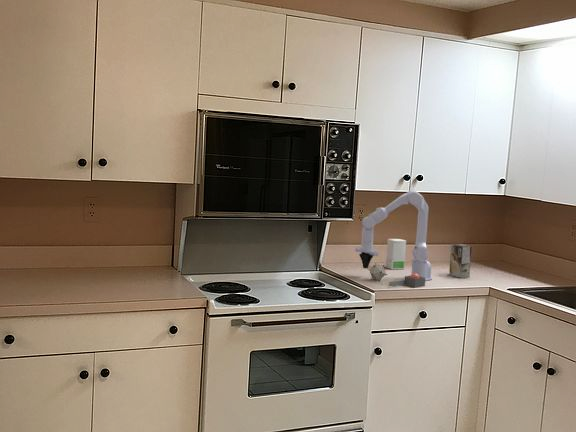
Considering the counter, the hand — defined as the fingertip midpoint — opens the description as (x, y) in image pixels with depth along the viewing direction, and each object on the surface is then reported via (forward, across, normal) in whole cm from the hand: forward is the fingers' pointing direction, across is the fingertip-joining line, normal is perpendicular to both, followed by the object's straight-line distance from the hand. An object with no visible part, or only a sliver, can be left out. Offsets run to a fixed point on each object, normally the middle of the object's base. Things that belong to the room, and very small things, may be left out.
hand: (365, 268), depth 323 cm
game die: (+4, +9, 0) cm, 10 cm away
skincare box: (+4, -8, +30) cm, 31 cm away
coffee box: (+4, +20, +47) cm, 51 cm away
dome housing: (+4, +25, +9) cm, 27 cm away
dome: (+3, +25, +9) cm, 27 cm away
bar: (+4, +22, 0) cm, 22 cm away
